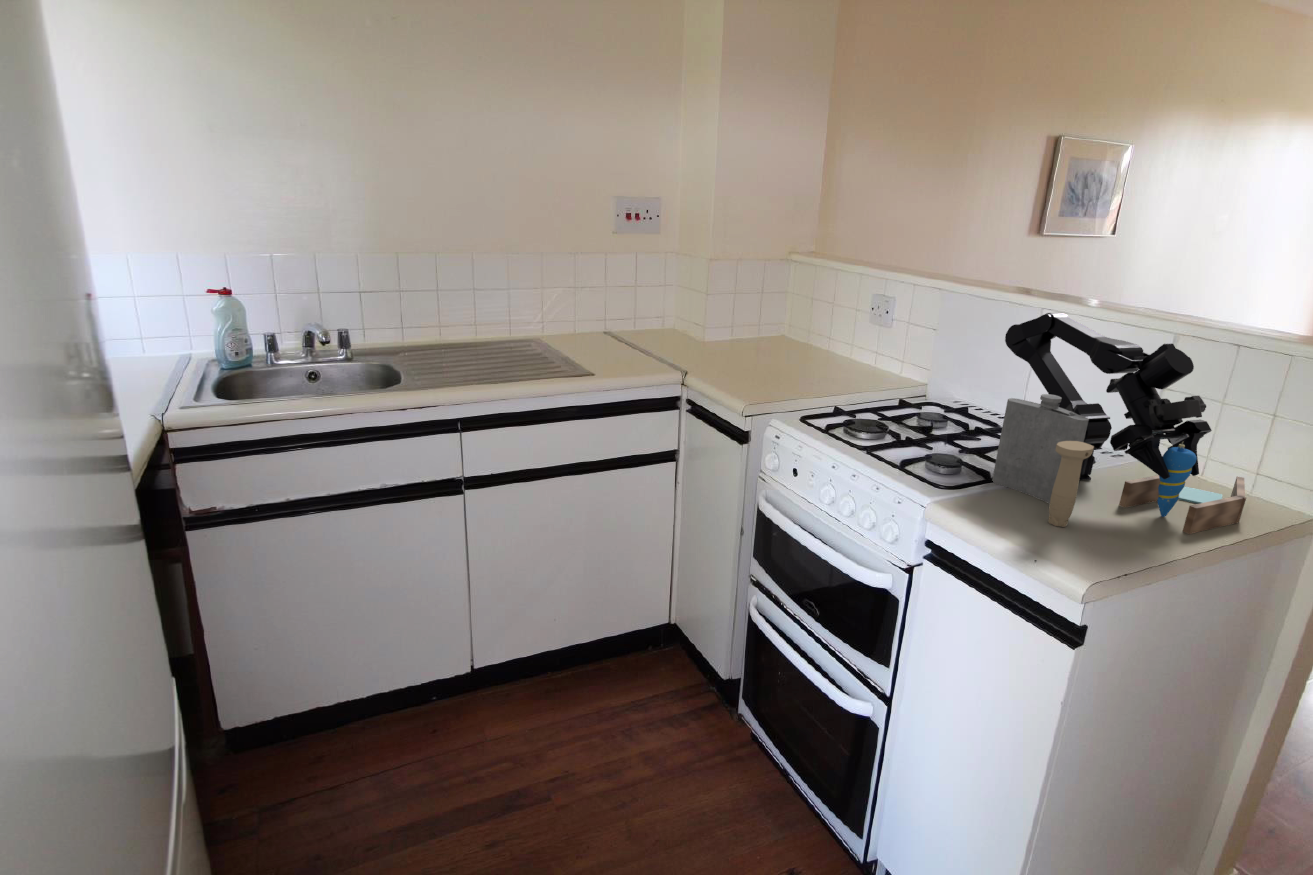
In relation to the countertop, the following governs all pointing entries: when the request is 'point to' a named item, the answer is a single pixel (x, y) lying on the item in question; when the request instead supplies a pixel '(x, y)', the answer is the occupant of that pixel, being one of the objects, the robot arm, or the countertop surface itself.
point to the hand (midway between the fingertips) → (1181, 476)
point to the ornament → (1174, 476)
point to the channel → (1198, 514)
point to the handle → (1067, 480)
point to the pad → (1198, 495)
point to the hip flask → (1035, 444)
